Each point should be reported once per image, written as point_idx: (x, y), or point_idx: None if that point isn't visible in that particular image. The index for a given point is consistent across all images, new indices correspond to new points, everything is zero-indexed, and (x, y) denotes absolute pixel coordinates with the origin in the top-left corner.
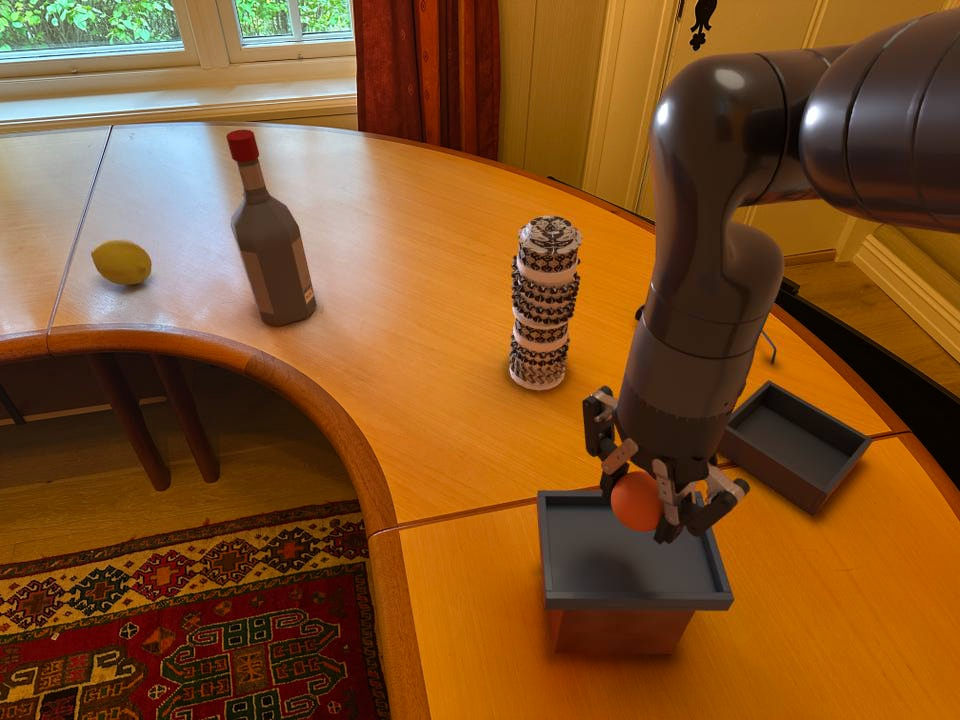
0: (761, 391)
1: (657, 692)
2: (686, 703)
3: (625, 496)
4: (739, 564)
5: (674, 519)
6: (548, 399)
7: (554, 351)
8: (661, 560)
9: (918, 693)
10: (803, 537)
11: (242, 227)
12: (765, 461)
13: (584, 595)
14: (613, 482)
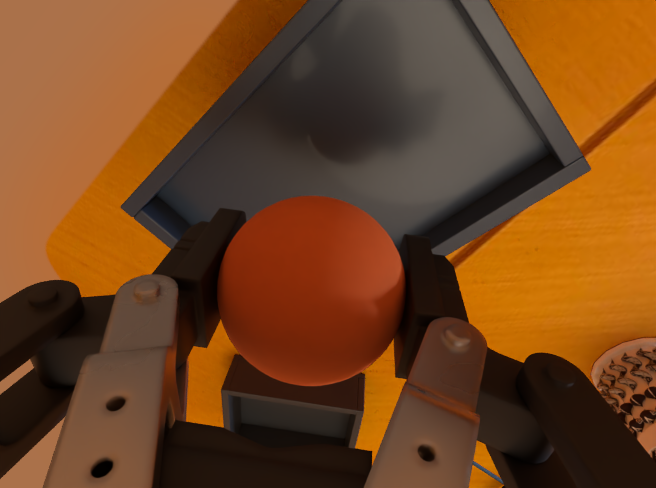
0: None
1: (232, 50)
2: (198, 66)
3: (338, 277)
4: None
5: (132, 296)
6: (598, 337)
7: (646, 422)
8: (272, 198)
9: (64, 246)
10: None
11: None
12: (297, 391)
13: None
14: (410, 297)
